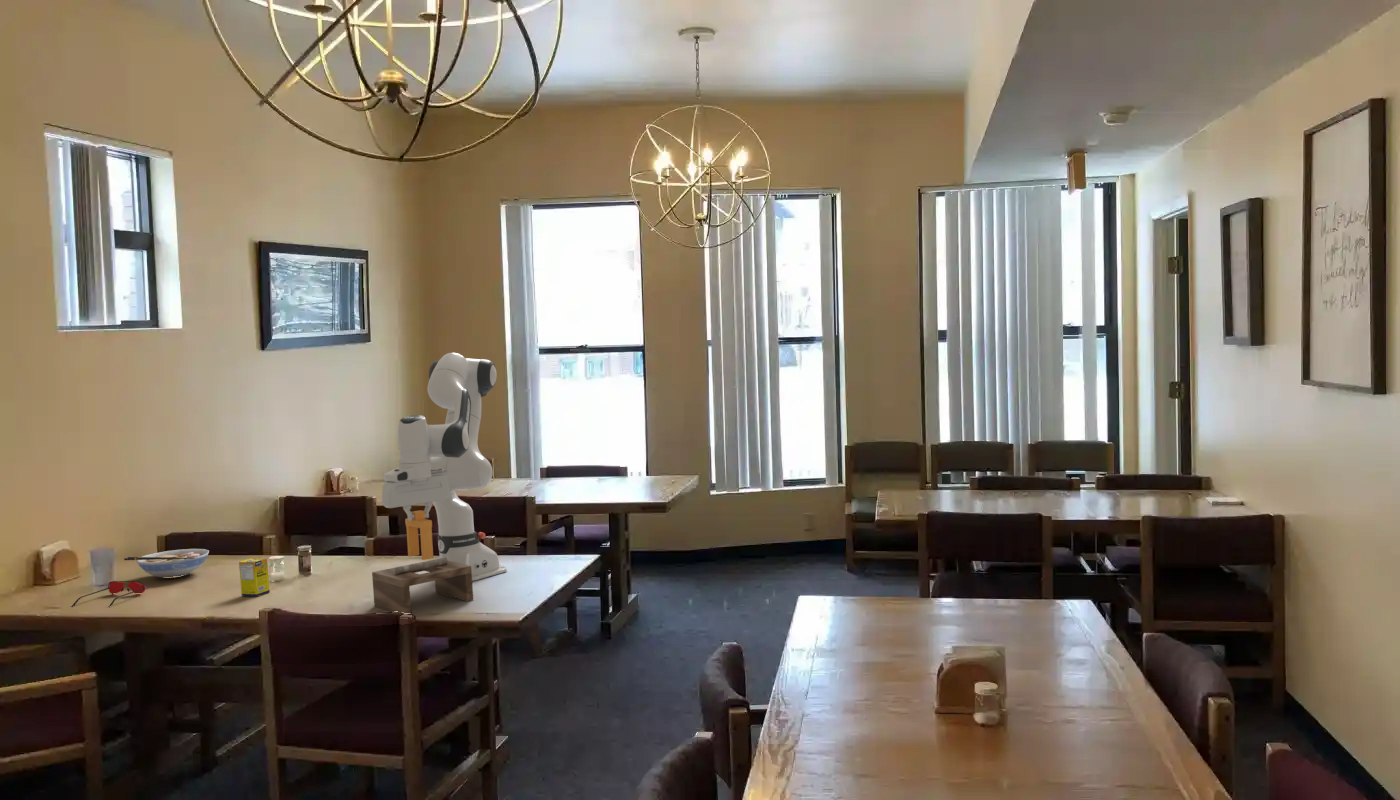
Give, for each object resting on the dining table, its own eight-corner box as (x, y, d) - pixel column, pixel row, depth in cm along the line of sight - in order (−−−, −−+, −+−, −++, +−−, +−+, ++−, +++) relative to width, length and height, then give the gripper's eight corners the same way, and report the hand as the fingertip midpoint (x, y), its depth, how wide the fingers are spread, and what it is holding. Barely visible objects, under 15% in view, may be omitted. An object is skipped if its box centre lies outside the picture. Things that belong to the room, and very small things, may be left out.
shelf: (441, 591, 334) (439, 552, 334) (473, 599, 321) (470, 559, 321) (374, 606, 319) (371, 565, 319) (404, 615, 306) (401, 573, 306)
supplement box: (270, 592, 345) (267, 557, 344) (256, 597, 339) (254, 562, 338) (254, 591, 347) (252, 557, 346) (241, 596, 341) (238, 561, 340)
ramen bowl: (227, 568, 386) (225, 545, 385) (186, 584, 363) (184, 559, 363) (163, 569, 390) (161, 546, 389) (119, 584, 368) (117, 560, 367)
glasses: (148, 595, 351) (146, 580, 350) (109, 608, 335) (108, 592, 334) (110, 595, 354) (109, 579, 354) (70, 608, 338) (69, 592, 337)
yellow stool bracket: (416, 554, 324) (414, 509, 323) (434, 558, 317) (431, 512, 316) (407, 556, 322) (404, 510, 321) (424, 560, 315) (421, 513, 314)
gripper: (441, 467, 327) (444, 513, 328) (378, 475, 313) (381, 523, 314) (452, 468, 323) (455, 515, 324) (388, 476, 309) (391, 525, 310)
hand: (418, 519), depth 319 cm, fingers closed on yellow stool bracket, 3 cm apart
